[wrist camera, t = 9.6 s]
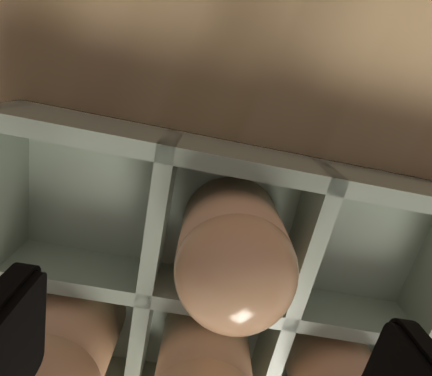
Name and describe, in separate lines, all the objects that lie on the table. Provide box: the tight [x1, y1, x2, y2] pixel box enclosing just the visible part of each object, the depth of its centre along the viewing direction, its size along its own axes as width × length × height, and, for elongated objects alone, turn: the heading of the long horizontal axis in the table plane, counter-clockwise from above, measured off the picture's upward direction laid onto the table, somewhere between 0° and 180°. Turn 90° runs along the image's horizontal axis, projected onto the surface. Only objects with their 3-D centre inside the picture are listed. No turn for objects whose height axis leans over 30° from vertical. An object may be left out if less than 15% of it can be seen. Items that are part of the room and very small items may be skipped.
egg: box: [174, 177, 299, 337], centre depth 13 cm, size 4×4×6 cm
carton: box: [0, 100, 432, 376], centre depth 14 cm, size 20×14×7 cm
